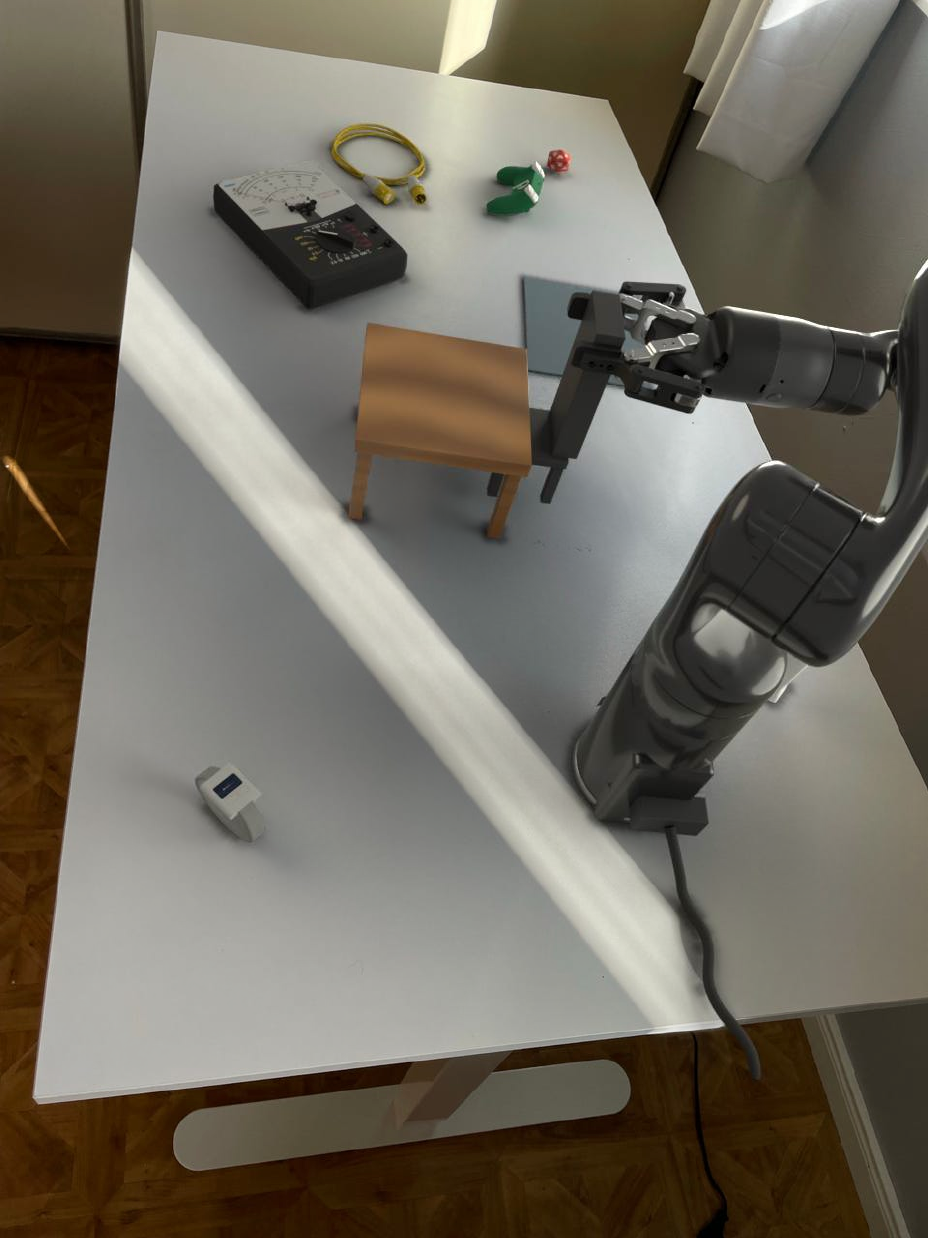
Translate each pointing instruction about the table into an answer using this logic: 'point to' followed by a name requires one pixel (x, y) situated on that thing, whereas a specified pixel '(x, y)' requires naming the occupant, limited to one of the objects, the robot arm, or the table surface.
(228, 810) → the wristwatch
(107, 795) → the table surface
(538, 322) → the mat
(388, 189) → the extension cord
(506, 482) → the side table
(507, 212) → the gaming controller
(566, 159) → the die
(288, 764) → the table surface
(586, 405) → the chair
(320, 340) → the table surface
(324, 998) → the table surface
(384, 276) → the multimeter
